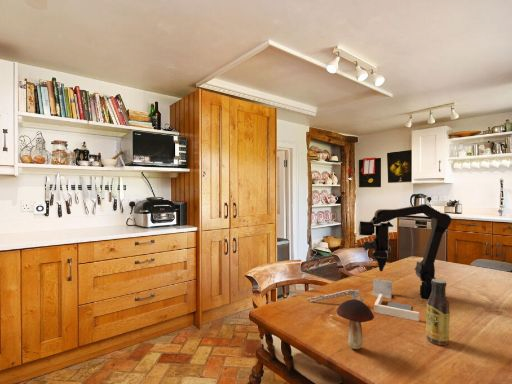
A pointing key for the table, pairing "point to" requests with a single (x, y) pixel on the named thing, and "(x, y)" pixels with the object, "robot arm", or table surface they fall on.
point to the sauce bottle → (438, 314)
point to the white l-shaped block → (394, 311)
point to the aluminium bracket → (382, 288)
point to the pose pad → (399, 306)
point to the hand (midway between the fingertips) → (382, 268)
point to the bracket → (351, 292)
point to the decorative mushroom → (355, 320)
